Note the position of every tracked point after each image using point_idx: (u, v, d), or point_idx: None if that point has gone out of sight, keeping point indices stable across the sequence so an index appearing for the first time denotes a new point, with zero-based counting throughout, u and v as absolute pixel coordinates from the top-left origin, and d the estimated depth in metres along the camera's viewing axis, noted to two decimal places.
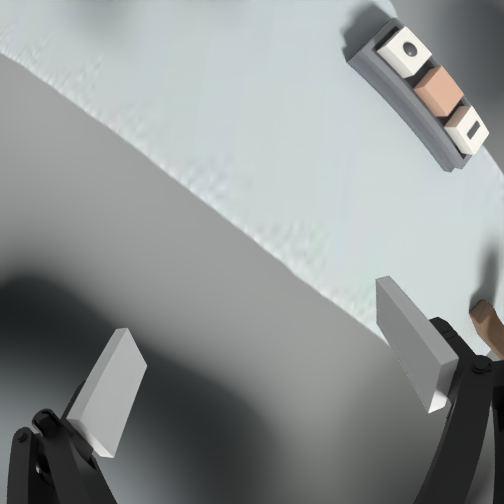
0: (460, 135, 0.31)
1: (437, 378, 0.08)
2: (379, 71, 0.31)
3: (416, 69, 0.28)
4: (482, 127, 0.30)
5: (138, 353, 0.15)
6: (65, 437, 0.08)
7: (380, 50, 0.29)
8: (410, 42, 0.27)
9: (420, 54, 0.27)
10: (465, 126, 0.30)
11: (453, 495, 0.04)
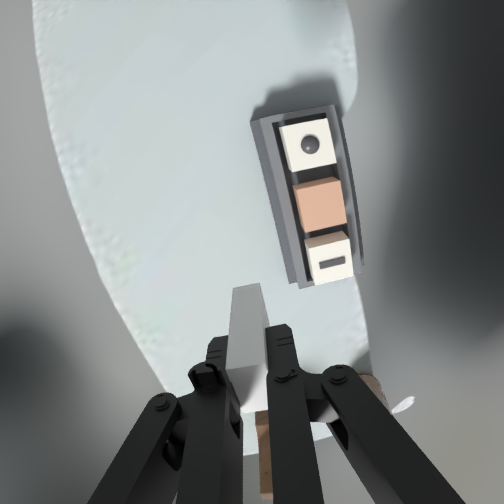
0: (310, 259, 0.35)
1: (249, 378, 0.11)
2: (266, 148, 0.34)
3: (300, 168, 0.31)
4: (347, 266, 0.36)
5: None
6: (222, 399, 0.09)
7: (280, 128, 0.31)
8: (317, 137, 0.30)
9: (320, 155, 0.31)
10: (323, 254, 0.35)
11: (306, 494, 0.05)
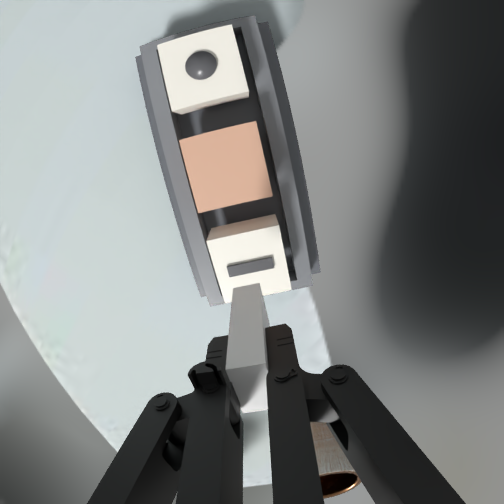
0: (212, 259, 0.21)
1: (249, 378, 0.11)
2: None
3: (185, 104, 0.17)
4: (279, 274, 0.21)
5: None
6: (222, 399, 0.09)
7: None
8: (214, 52, 0.16)
9: (218, 81, 0.17)
10: (233, 251, 0.21)
11: (306, 494, 0.05)
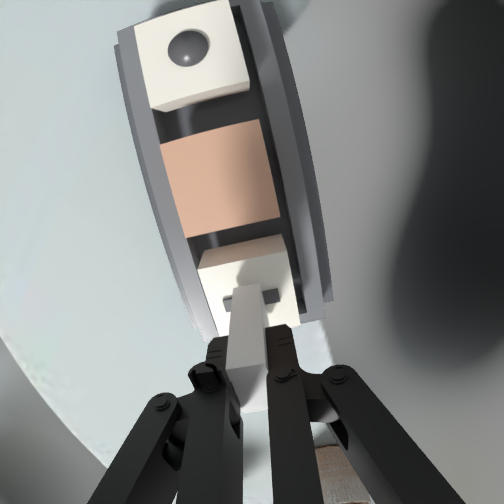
0: (204, 290, 0.17)
1: (249, 378, 0.11)
2: None
3: (167, 98, 0.13)
4: (286, 308, 0.18)
5: None
6: (222, 399, 0.09)
7: None
8: (205, 32, 0.12)
9: (210, 68, 0.12)
10: (230, 281, 0.17)
11: (306, 494, 0.05)
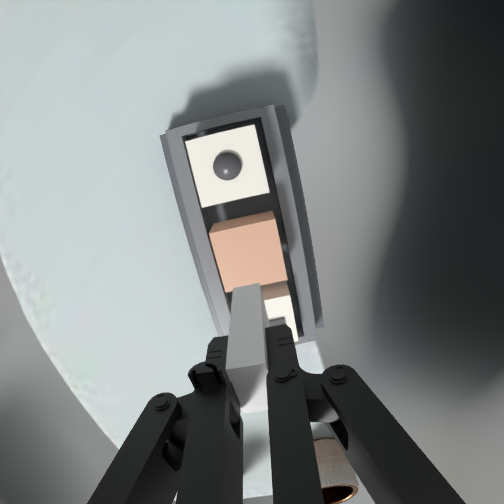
0: None
1: (249, 378, 0.11)
2: None
3: (214, 201, 0.22)
4: None
5: None
6: (222, 399, 0.09)
7: None
8: (239, 154, 0.20)
9: (243, 182, 0.21)
10: None
11: (306, 494, 0.05)
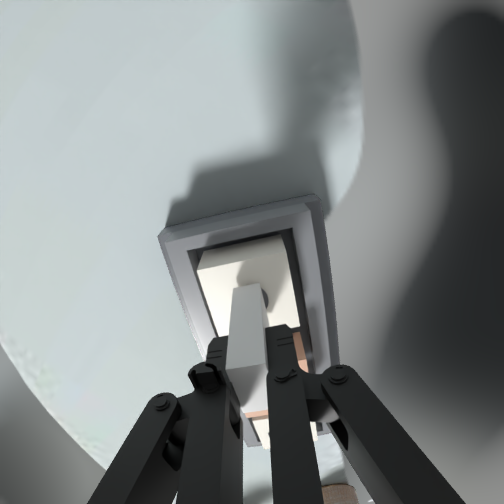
0: (256, 428, 0.23)
1: (249, 378, 0.11)
2: None
3: None
4: None
5: None
6: (222, 399, 0.09)
7: None
8: (265, 287, 0.17)
9: (269, 317, 0.18)
10: None
11: (306, 494, 0.05)
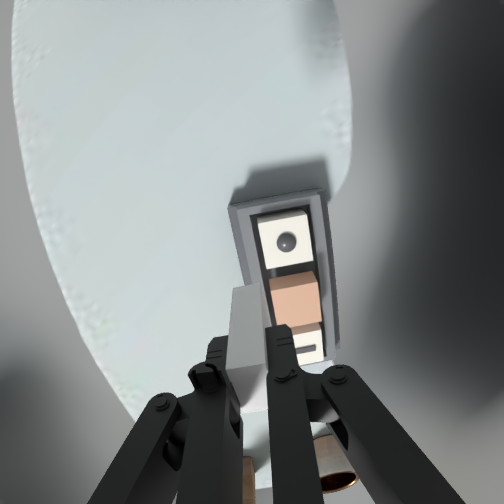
0: None
1: (249, 378, 0.11)
2: None
3: (275, 265, 0.32)
4: (318, 353, 0.36)
5: None
6: (222, 399, 0.09)
7: (257, 220, 0.32)
8: (294, 234, 0.31)
9: (296, 253, 0.31)
10: (294, 342, 0.35)
11: (306, 494, 0.05)
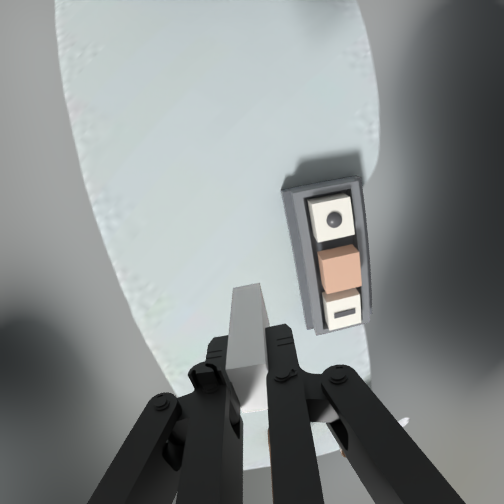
0: (327, 310, 0.42)
1: (249, 378, 0.11)
2: (296, 219, 0.39)
3: (325, 239, 0.38)
4: (357, 316, 0.42)
5: None
6: (222, 399, 0.09)
7: (308, 202, 0.38)
8: (340, 213, 0.37)
9: (341, 229, 0.37)
10: (337, 306, 0.41)
11: (306, 494, 0.05)
